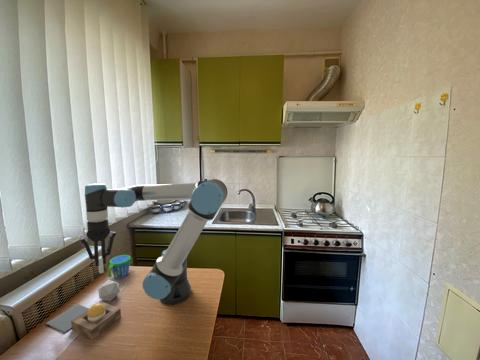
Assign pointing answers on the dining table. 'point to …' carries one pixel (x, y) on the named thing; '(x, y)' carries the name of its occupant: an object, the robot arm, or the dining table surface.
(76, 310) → the coaster
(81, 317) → the brown square tray
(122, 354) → the dining table surface
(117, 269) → the snack cup
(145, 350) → the dining table surface
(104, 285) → the die
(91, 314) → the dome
